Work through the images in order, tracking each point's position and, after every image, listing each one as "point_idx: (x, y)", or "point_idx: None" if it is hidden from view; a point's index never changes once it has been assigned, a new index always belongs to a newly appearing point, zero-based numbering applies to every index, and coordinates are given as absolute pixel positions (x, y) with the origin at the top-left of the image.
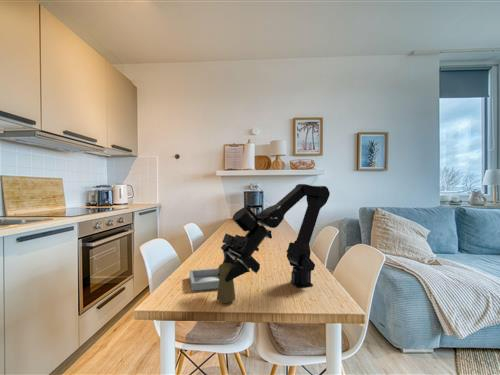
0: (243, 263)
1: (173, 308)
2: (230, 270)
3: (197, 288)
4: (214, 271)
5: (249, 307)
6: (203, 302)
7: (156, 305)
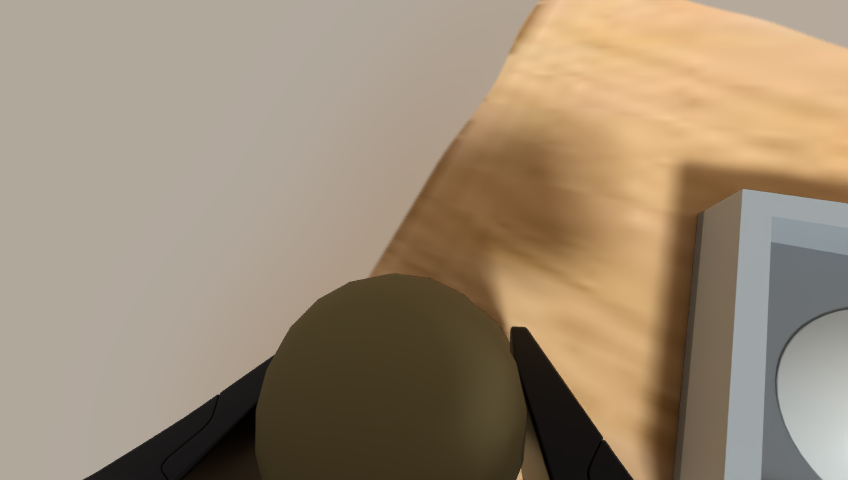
0: None
1: (512, 93)
2: (253, 397)
3: (709, 246)
4: None
5: None
6: (507, 237)
7: (582, 30)
